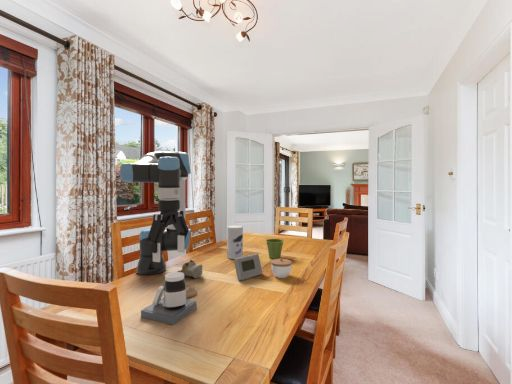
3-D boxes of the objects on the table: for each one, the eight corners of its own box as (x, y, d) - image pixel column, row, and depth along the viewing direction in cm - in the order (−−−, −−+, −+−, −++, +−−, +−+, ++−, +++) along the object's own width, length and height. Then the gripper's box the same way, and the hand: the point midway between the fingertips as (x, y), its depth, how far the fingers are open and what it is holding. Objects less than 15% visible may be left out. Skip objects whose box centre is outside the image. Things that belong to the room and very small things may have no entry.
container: (236, 260, 171) (236, 228, 170) (224, 257, 176) (224, 226, 175) (245, 256, 179) (245, 226, 178) (233, 254, 184) (233, 224, 184)
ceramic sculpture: (194, 264, 133) (171, 261, 140) (195, 281, 133) (172, 278, 140) (208, 258, 142) (186, 256, 150) (208, 275, 142) (186, 272, 150)
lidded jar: (294, 274, 145) (294, 257, 144) (287, 281, 135) (288, 262, 135) (275, 271, 149) (275, 254, 149) (267, 277, 140) (267, 259, 139)
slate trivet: (140, 317, 98) (140, 310, 98) (167, 301, 111) (167, 295, 111) (172, 325, 93) (172, 317, 93) (196, 307, 106) (196, 300, 106)
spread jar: (188, 309, 99) (188, 277, 98) (154, 316, 94) (154, 282, 93) (181, 296, 109) (181, 268, 109) (151, 302, 105) (151, 271, 104)
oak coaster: (167, 296, 116) (167, 294, 116) (182, 288, 125) (182, 286, 125) (187, 300, 112) (187, 298, 112) (201, 291, 122) (201, 289, 122)
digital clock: (237, 281, 134) (237, 260, 134) (230, 276, 142) (230, 255, 141) (266, 276, 142) (266, 256, 142) (257, 271, 150) (257, 252, 149)
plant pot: (287, 257, 179) (287, 239, 178) (278, 261, 169) (278, 243, 168) (271, 254, 185) (271, 237, 185) (262, 258, 175) (262, 240, 175)
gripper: (152, 202, 88) (153, 267, 89) (197, 197, 111) (197, 249, 112) (134, 201, 90) (135, 264, 91) (181, 196, 114) (182, 247, 115)
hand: (169, 256), depth 102 cm, fingers open, 13 cm apart
